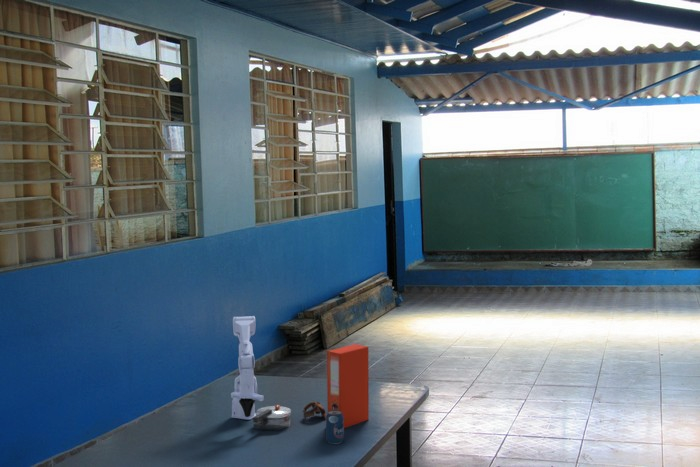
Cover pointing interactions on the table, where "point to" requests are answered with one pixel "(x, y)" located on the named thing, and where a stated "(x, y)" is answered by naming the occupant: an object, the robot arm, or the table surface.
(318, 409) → the pottery mug
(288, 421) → the cooker pot
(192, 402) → the table surface
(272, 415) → the cooker lid
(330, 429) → the soda can
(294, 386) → the table surface
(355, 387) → the file binder
